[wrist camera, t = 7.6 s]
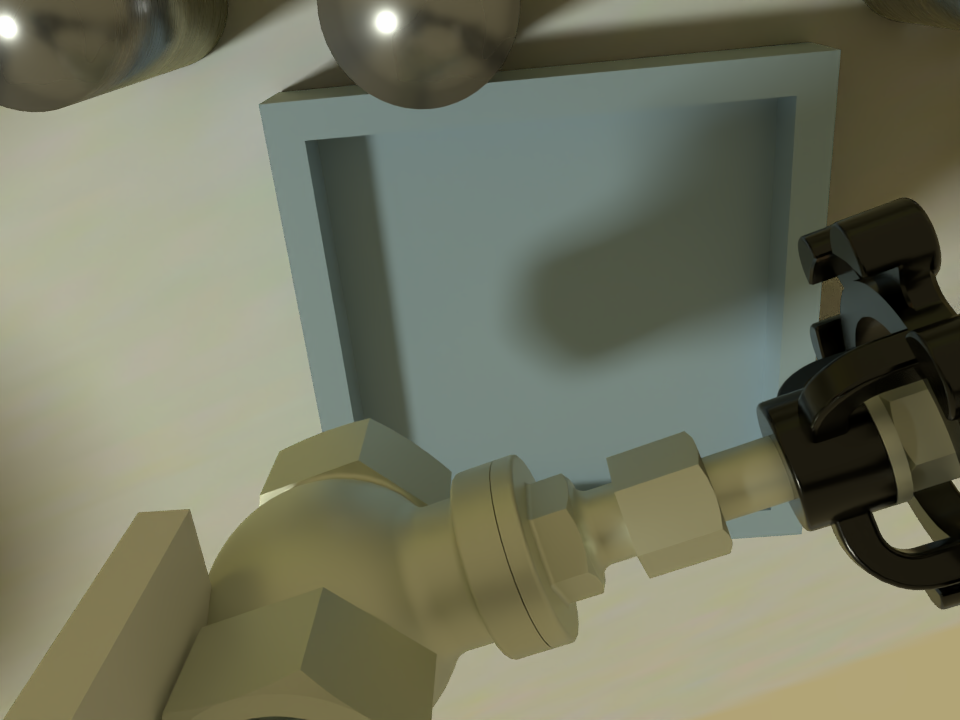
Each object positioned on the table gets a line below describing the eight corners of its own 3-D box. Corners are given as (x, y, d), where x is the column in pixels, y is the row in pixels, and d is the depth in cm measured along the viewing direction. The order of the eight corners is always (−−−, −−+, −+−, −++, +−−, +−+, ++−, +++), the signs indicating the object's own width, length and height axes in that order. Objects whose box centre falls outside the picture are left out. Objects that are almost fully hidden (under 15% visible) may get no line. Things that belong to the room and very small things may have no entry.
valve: (342, 649, 18) (902, 470, 16) (269, 977, 12) (1140, 759, 10) (185, 396, 16) (822, 148, 14) (-2, 652, 10) (1074, 280, 8)
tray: (358, 523, 24) (348, 564, 22) (278, 92, 19) (258, 104, 17) (779, 493, 23) (801, 534, 22) (809, 41, 18) (840, 49, 17)
